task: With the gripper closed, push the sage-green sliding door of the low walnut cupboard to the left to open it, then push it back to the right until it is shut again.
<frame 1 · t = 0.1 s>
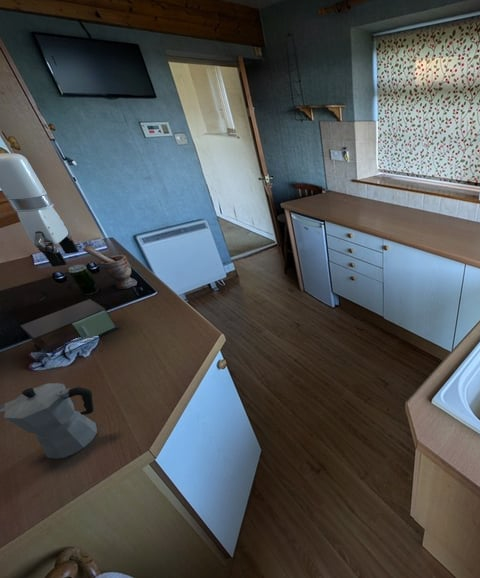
hand: (66, 258, 90), 28 cm above the worktop, tool pointing down, fingers open, 9 cm apart
cupboard: (77, 335, 102), on the worktop
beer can: (91, 292, 126), on the worktop
mortar and pestle: (122, 286, 130), on the worktop
coffeepot: (79, 439, 70), on the worktop
sliding door: (94, 325, 100), point 4 cm above the worktop, slide at 0.0 cm
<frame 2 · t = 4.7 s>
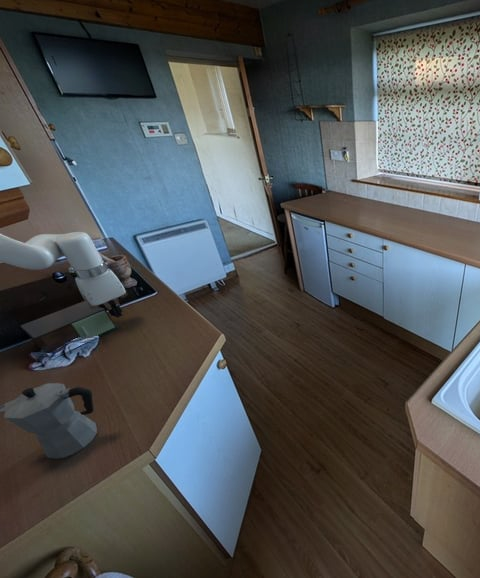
hand: (118, 315, 104), 4 cm above the worktop, tool pointing down, fingers closed
sliding door: (94, 325, 99), point 4 cm above the worktop, slide at 0.1 cm, touching gripper
everything else where it was.
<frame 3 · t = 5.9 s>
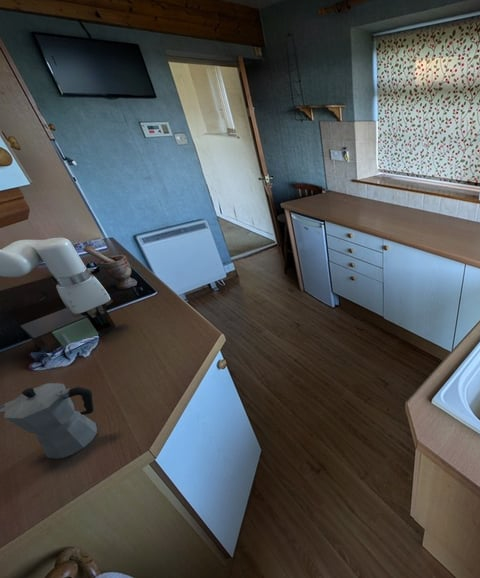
hand: (102, 323, 101), 4 cm above the worktop, tool pointing down, fingers closed
sliding door: (76, 333, 96), point 4 cm above the worktop, slide at 4.9 cm, touching gripper
everything else where it was.
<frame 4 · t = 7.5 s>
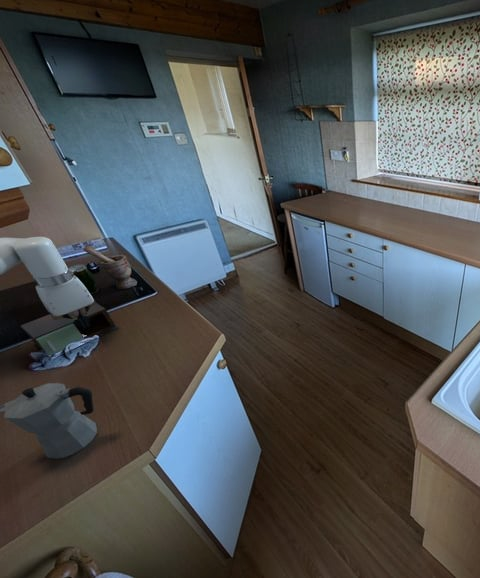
hand: (85, 326, 97), 6 cm above the worktop, tool pointing down, fingers closed
sliding door: (62, 340, 93), point 4 cm above the worktop, slide at 8.5 cm
everything else where it was.
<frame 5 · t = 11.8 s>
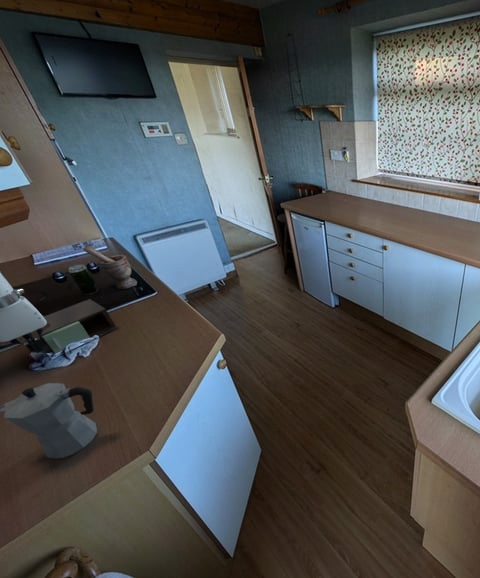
hand: (39, 350, 89), 5 cm above the worktop, tool pointing down, fingers closed
sliding door: (67, 337, 94), point 4 cm above the worktop, slide at 7.1 cm, touching gripper
everything else where it was.
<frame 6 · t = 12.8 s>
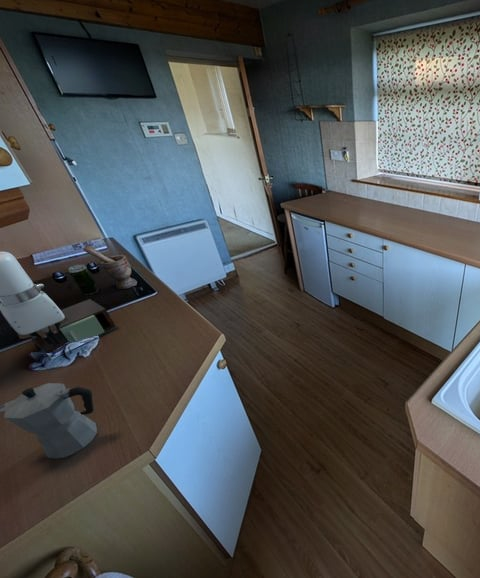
hand: (56, 343, 92), 4 cm above the worktop, tool pointing down, fingers closed
sliding door: (83, 330, 97), point 4 cm above the worktop, slide at 3.1 cm, touching gripper
everything else where it was.
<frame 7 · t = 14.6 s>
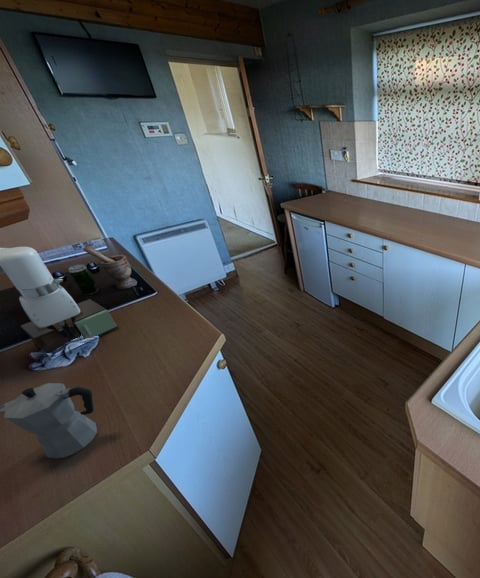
hand: (71, 336, 95), 4 cm above the worktop, tool pointing down, fingers closed
sliding door: (96, 324, 100), point 4 cm above the worktop, slide at -0.5 cm, touching gripper
everything else where it was.
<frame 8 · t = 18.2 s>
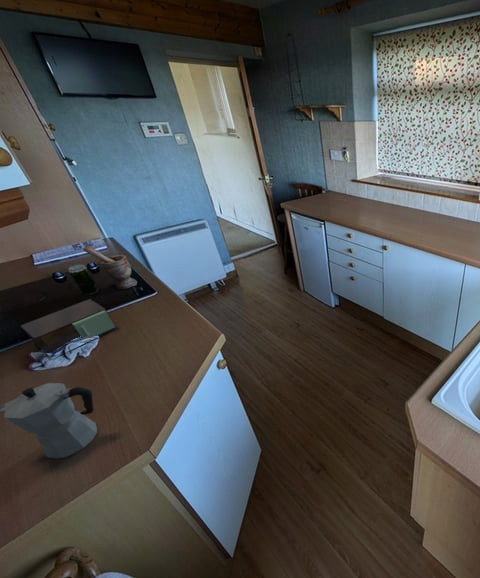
sliding door: (94, 325, 100), point 4 cm above the worktop, slide at 0.0 cm
everything else where it was.
at the end: sliding door pulled out 8.5 cm at the most during the clip, back to where it started at the end; sliding door slide at 0.0 cm; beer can moved 0.2 cm from its start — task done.
